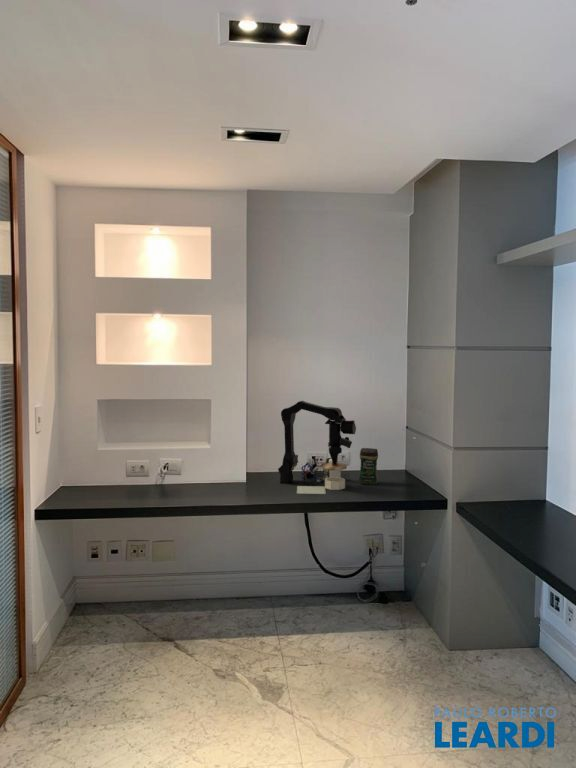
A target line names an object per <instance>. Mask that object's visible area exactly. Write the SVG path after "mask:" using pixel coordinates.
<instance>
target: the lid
mask: <svg viewBox="0 0 576 768" xmlns="http://www.w3.org/2000/svg"><path fill="white" fill-rule="evenodd" d="M338 459H339V458H338V457H337V462H336V465H334V464H333V461H332V463H326V462H325V463H324V464H322V469H323V468H324V469H327V470H341V471H343V470H346V469H347V467H348V465H347V464H345V463H341V462H338Z"/></svg>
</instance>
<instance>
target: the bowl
mask: <svg viewBox="0 0 576 768" xmlns="http://www.w3.org/2000/svg"><path fill="white" fill-rule="evenodd" d="M324 486H325V489H327V490H332V491H334V490H335V491H339V490H343V489H346V479H345V478H343V477H341V478H340V477H329V478H325V480H324Z"/></svg>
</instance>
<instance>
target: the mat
mask: <svg viewBox="0 0 576 768" xmlns="http://www.w3.org/2000/svg"><path fill="white" fill-rule="evenodd" d="M296 494H299V495H300V494H301V495H306V494H308V495H311V494H312V495H326V494H327V493H326V488H325V485H323V486H322V485H321V486H320V485H319V486H318V485H315V486H312V485H308V486H307V485H297V486H296Z"/></svg>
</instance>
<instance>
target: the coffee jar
mask: <svg viewBox="0 0 576 768" xmlns="http://www.w3.org/2000/svg"><path fill="white" fill-rule="evenodd" d="M378 453H379V451H378V449H377V448H373V447H371V448H369V447H362V448H360V451H359V460H360V467H359V468H360V469H359V477H358V483H359V484H362V485H368V484H369V486H372V485H377V483H379V482H378V480H379V479H378V467H377V466H378V459H379V454H378Z"/></svg>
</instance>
